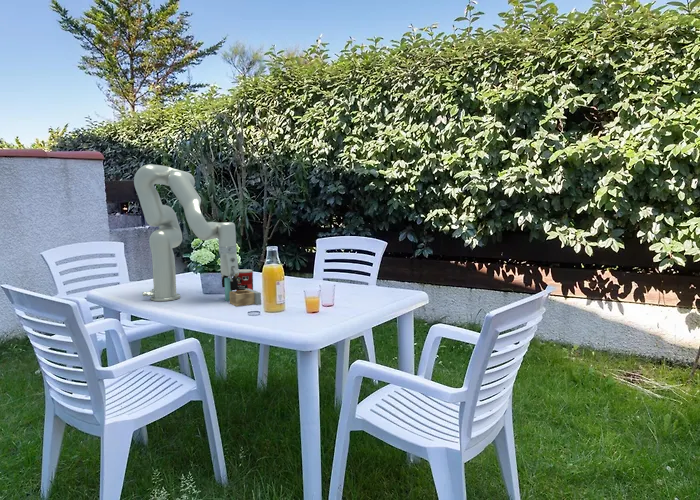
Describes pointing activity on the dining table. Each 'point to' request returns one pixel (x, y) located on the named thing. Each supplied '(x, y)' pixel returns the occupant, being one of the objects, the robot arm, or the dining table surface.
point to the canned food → (245, 279)
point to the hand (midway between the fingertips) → (229, 288)
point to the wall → (256, 296)
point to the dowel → (227, 288)
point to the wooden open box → (242, 298)
